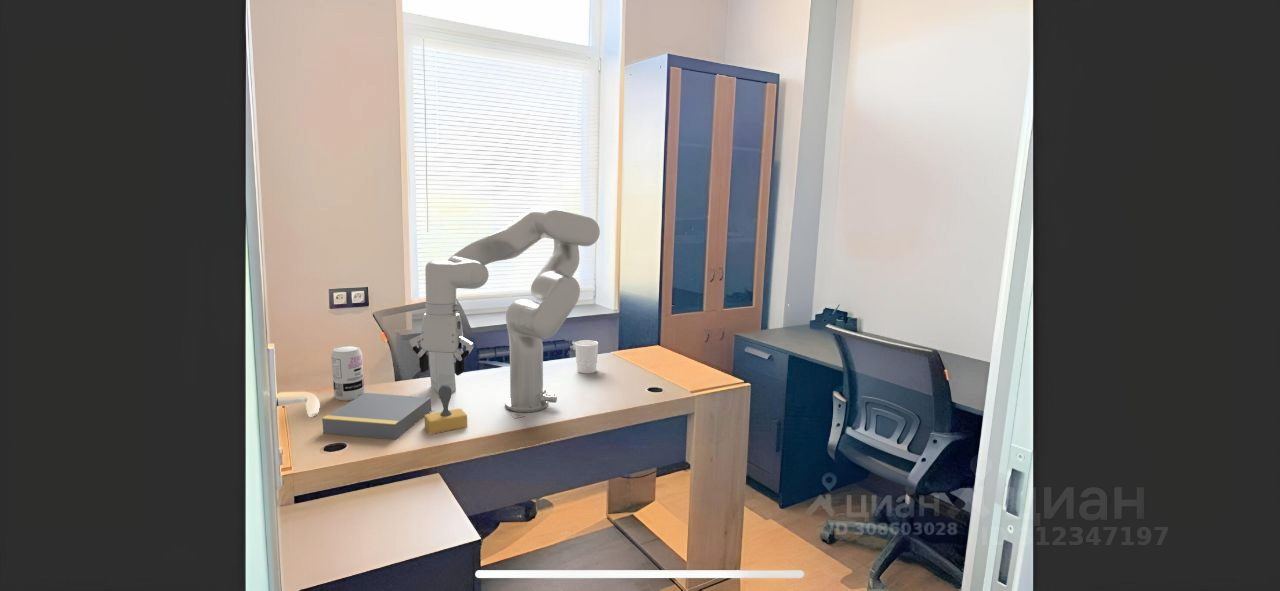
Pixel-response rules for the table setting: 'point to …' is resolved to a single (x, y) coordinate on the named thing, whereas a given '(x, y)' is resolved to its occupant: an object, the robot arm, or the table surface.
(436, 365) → the skincare box
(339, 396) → the supplement can
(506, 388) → the table surface
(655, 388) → the table surface
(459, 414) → the rubber stamp
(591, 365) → the white cup
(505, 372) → the table surface
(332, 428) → the block
